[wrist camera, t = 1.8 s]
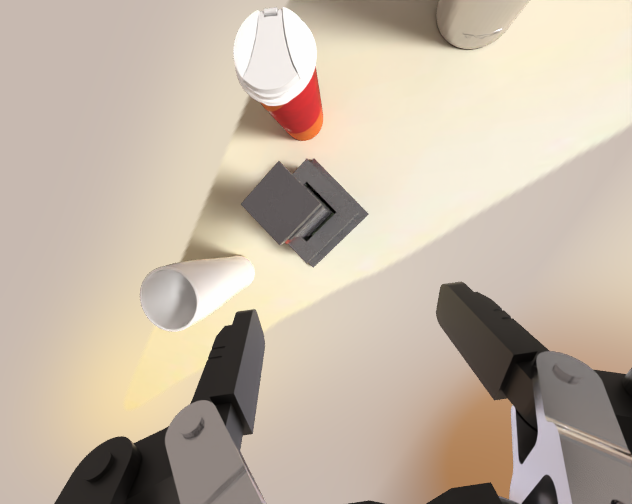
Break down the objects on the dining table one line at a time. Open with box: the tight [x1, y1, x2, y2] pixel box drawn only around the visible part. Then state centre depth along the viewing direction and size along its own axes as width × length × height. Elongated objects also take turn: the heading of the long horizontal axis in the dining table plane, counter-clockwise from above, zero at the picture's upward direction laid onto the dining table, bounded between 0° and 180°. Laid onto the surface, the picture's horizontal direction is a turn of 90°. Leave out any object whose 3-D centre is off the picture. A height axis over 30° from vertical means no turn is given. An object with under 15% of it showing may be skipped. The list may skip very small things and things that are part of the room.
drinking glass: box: [140, 256, 255, 331], centre depth 31 cm, size 7×7×15 cm
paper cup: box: [233, 7, 323, 141], centre depth 27 cm, size 8×8×14 cm
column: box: [241, 161, 334, 245], centre depth 27 cm, size 5×5×16 cm
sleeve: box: [285, 159, 368, 267], centre depth 32 cm, size 11×11×7 cm
